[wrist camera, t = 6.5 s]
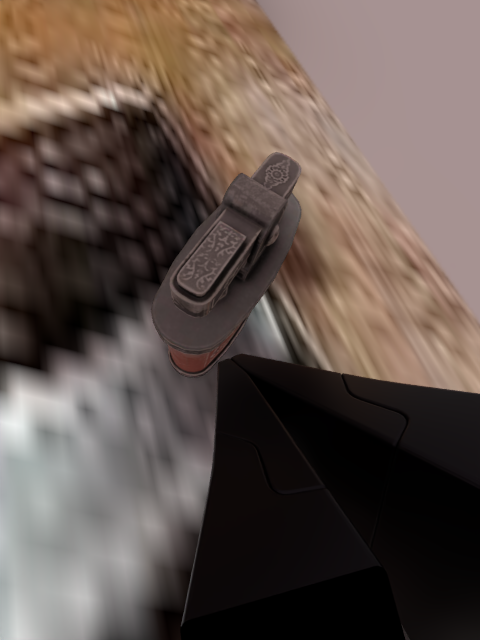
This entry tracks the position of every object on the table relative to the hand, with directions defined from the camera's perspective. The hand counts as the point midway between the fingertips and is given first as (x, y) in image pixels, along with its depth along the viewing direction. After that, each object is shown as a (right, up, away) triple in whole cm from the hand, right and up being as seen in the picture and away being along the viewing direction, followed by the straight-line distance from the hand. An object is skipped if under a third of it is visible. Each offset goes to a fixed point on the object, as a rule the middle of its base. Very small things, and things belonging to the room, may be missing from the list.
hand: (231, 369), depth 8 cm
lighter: (-1, +2, +8) cm, 9 cm away
